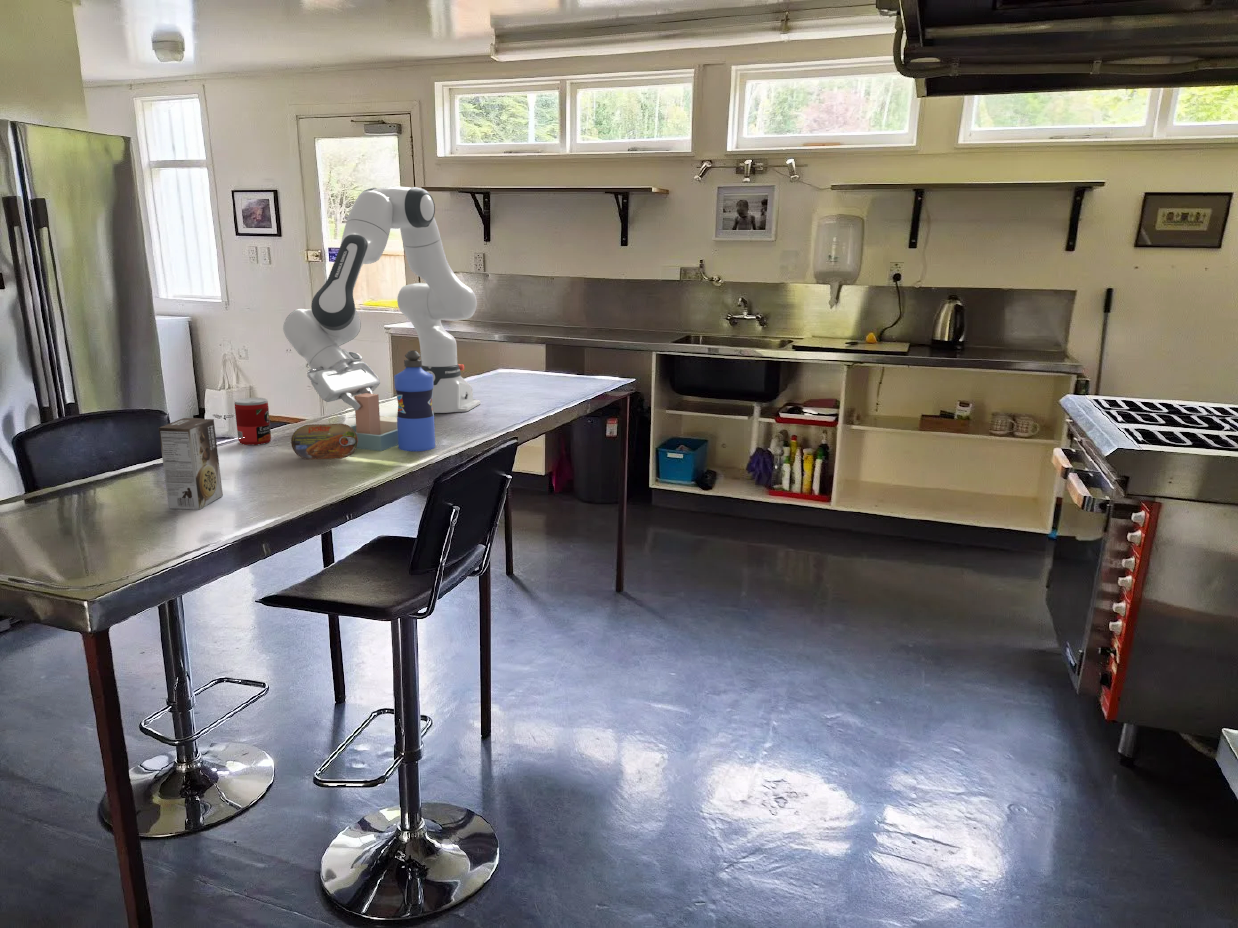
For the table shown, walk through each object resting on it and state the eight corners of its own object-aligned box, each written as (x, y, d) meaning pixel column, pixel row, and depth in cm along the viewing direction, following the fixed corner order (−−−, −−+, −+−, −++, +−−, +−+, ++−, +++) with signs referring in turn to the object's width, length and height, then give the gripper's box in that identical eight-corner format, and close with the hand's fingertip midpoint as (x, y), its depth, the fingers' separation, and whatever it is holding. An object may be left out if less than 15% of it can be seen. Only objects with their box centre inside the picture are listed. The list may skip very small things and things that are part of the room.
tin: (292, 460, 192) (289, 425, 190) (294, 457, 195) (291, 423, 193) (358, 458, 195) (356, 424, 193) (359, 455, 198) (357, 421, 196)
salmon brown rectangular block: (367, 435, 208) (365, 393, 205) (380, 436, 207) (378, 394, 204) (356, 438, 204) (354, 395, 201) (370, 440, 203) (367, 397, 200)
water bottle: (401, 455, 198) (396, 354, 191) (395, 447, 206) (390, 349, 200) (439, 452, 202) (435, 352, 195) (431, 444, 210) (428, 348, 203)
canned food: (263, 445, 205) (259, 403, 202) (232, 445, 205) (228, 402, 202) (276, 439, 212) (273, 397, 210) (246, 438, 213) (242, 397, 210)
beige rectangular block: (379, 434, 217) (378, 415, 215) (408, 437, 214) (407, 418, 213) (367, 437, 212) (366, 419, 211) (397, 441, 209) (396, 422, 208)
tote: (377, 434, 220) (376, 418, 219) (421, 439, 216) (420, 422, 214) (334, 448, 203) (332, 431, 202) (381, 454, 199) (380, 436, 198)
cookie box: (192, 495, 164) (183, 417, 160) (224, 496, 164) (215, 418, 159) (167, 509, 155) (156, 427, 151) (200, 510, 155) (190, 427, 151)
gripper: (310, 361, 193) (347, 405, 192) (363, 352, 212) (397, 392, 211) (296, 379, 196) (333, 422, 195) (350, 368, 214) (383, 407, 214)
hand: (366, 406), depth 203 cm, fingers closed on salmon brown rectangular block, 4 cm apart
